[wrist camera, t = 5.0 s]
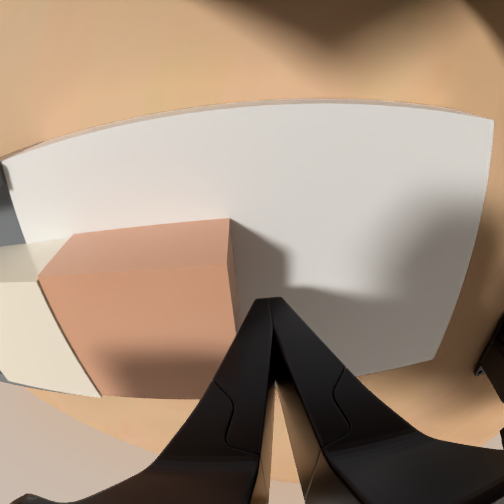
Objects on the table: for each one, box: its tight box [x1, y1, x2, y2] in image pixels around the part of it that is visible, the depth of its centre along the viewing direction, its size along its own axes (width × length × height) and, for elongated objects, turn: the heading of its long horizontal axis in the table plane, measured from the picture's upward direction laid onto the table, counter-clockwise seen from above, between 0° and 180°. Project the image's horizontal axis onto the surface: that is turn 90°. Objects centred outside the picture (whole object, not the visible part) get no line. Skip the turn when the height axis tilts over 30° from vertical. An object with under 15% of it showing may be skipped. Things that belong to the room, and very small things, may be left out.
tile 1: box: [0, 239, 102, 398], centre depth 9 cm, size 5×5×2 cm
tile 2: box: [37, 218, 242, 399], centre depth 9 cm, size 5×5×2 cm
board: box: [1, 98, 494, 388], centre depth 11 cm, size 16×11×3 cm
